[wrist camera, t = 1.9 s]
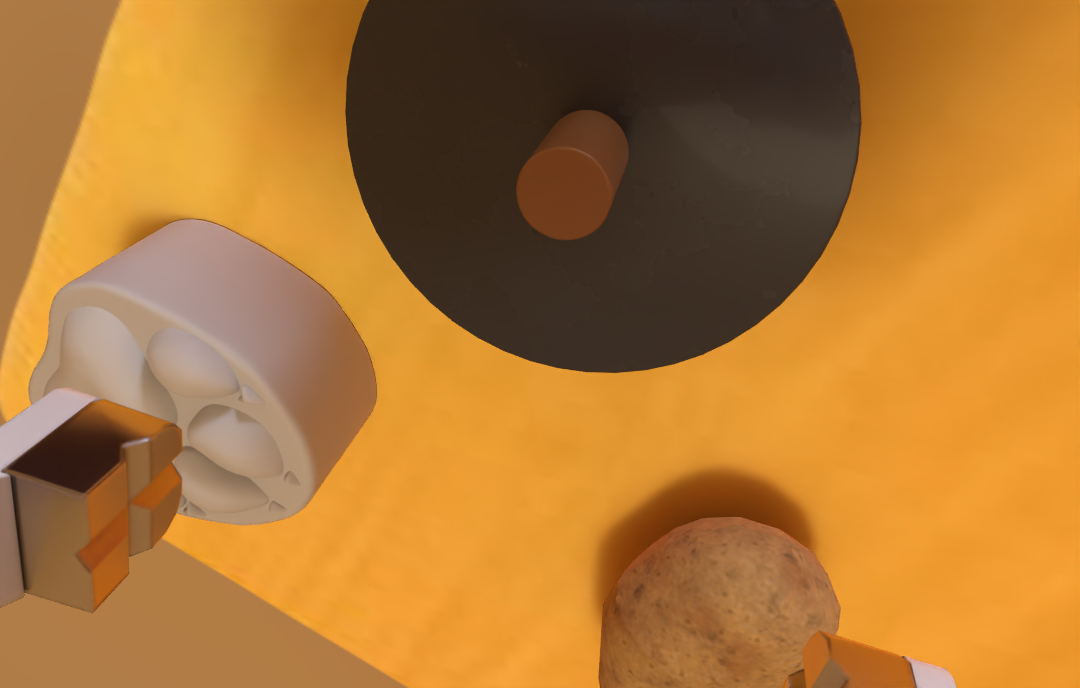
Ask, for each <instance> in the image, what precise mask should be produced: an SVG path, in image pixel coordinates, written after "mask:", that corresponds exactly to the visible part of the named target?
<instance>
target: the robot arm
mask: <svg viewBox="0 0 1080 688" xmlns="http://www.w3.org/2000/svg"><path fill="white" fill-rule="evenodd" d="M182 451H183V444H182V429H181V428H179V427H178V426H177V425H176V424H175V423H172V422H169V421H166V420H163V419H160V418H157V417H155V416H152V415H149V414H146V413H143V412H140V411H137V410H134V409H132V408H129V407H126V406H123V405H120V404H117V403H114V402H111V401H109V400H106V399H100V398H97V397H94V396H91V395H89V394H86V393H83V392H80V391H77V390H75V389H72V388H69V387H65V388H59V389H54V390H52V391H51V392H49V393H48V394H47V395H45V396H44V397H42V398H41V399H39V400H38V401H36V402H35V403H34V404H32V405H31V406H29V407H28V408H26V409H25V410H24V411H22V412H21V413H19V414H18V415H16V416H15V417H13V418H12V419H11V420H9V421H8V422H6V423H5V424H3V425H2V426H1V427H0V608H2V607H4V606H6V605H8V604H10V603H12V602H14V601H16V600H19V599H21V598H23V597H24V595H25V594H24V593H28V594H31V595H34V596H38V597H41V598H44V599H48V600H51V601H54V602H57V603H61V604H64V605H67V606H70V607H73V608H77V609H80V610H83V611H87V612H90V613H93V612H94V611H95V610H96V609H97V608H98V607H99V606H100V605H101V604H102V602H104V600H105V599H106V598H107V597H108V596H109V595H110V594H111V593H112V592H113V591H114V589H115V588H116V587H117V586H118V585H119V584H120V583H121V582H122V581H123V580H124V578H126V576H127V575H128V574H129V557H130V556H133V555H136V554H138V553H141V552H143V551H146V550H149V549H152V548H153V547H154V545H155V544H156V543H157V542H158V541H159V540H160V539H161V537H162V536H163V535H164V534H165V533H166V531H167V530H168V528H169V526H170V524H171V522H172V520H173V518H174V516H175V514H176V513H177V511H178V507H179V503H180V499H181V495H182V477H181V475H180V474H179V472H178V471H177V469H176V467H175V466H174V464H173V463H172V461H173V460H174V459H175V458H176V457H177V456H178V455H179V454H180V453H181V452H182ZM802 652H803V662H804V669H802V670H800V671H797V672H795V673H793V674H790V675H788V677H787V679H786V680H785V682H784V684H783V686H782V688H956V685H955V682H954V679H953V677H952V676H951V674H950V673H949V672H948V671H947V670H946V669H945V668H941V667H938V666H935V665H931V664H928V663H925V662H922V661H918V660H915V659H912V658H908V657H905V656H902V657H901V656H899V655H897V654H894V653H890V652H887V651H884V650H881V649H878V648H874V647H871V646H868V645H865V644H862V643H858V642H855V641H852V640H849V639H846V638H842V637H839V636H836V635H833V634H830V633H826V632H823V631H820V630H819V631H818V632H816V633H815V634H814V635H813V636H811V638H810V639H809V641H808V642H807V644H806V646H805V647H804V649H803V651H802Z"/></svg>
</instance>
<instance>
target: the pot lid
mask: <svg viewBox="0 0 1080 688" xmlns="http://www.w3.org/2000/svg"><path fill="white" fill-rule="evenodd" d="M345 112H346V125H347V138H348V147H349V152H350V157H351V162H352V167H353V172H354V176H355V179H356V182H357V185H358V188H359V191H360V194H361V198H362V201H363V204H364V206H365V208H366V210H367V213H368V215H369V217H370V219H371V221H372V224H373V226H374V228H375V230H376V232H377V234H378V236H379V237H380V239H381V241H382V242H383V244H384V245H385V247H386V249H387V250H388V252H389V254H390V255H391V257H392V259H393V260H394V261H395V262H396V264H397V265H398V266H399V268H400V269H401V270H402V272H403V273H404V274H405V275H406V277H407V278H408V279H409V281H410V282H411V283H412V284H413V285H414V286H415V287H416V288H417V289H418V290H419V291H420V292H421V293H422V294H423V295H424V296H425V297H426V298H427V299H428V301H429V302H430V303H432V304H433V305H434V306H435V307H436V308H438V309H439V310H440V311H441V312H442V313H444V314H445V315H446V316H447V317H448V318H450V319H451V320H452V321H453V322H455V323H456V324H458V325H459V326H461V327H462V328H464V329H465V330H467V331H468V332H470V333H471V334H473V335H474V336H476V337H477V338H479V339H481V340H483V341H485V342H487V343H489V344H491V345H493V346H495V347H497V348H499V349H501V350H503V351H505V352H508V353H511V354H513V355H516V356H519V357H521V358H524V359H527V360H529V361H533V362H537V363H540V364H544V365H548V366H552V367H556V368H561V369H569V370H576V371H583V372H605V373H619V372H630V371H641V370H648V369H653V368H658V367H663V366H667V365H672V364H676V363H679V362H682V361H685V360H688V359H691V358H694V357H697V356H700V355H703V354H705V353H707V352H709V351H711V350H713V349H715V348H717V347H719V346H722V345H724V344H726V343H728V342H730V341H732V340H733V339H735V338H736V337H738V336H739V335H741V334H743V333H744V332H746V331H747V330H749V329H750V328H752V327H754V326H755V325H757V324H758V323H759V322H760V321H761V320H763V319H764V318H765V317H766V316H768V315H769V314H770V313H771V312H772V311H774V310H775V309H776V308H777V307H778V306H780V305H781V304H782V303H783V302H784V301H785V299H786V298H787V297H788V296H789V295H790V294H791V293H792V292H793V291H794V290H795V289H796V288H797V287H798V286H799V285H800V284H801V283H802V281H803V280H804V279H805V277H806V276H807V275H808V273H809V272H810V270H811V269H812V268H813V266H814V265H815V264H816V262H817V261H818V259H819V258H820V257H821V255H822V254H823V252H824V250H825V248H826V246H827V244H828V242H829V241H830V239H831V237H832V235H833V233H834V231H835V230H836V228H837V226H838V224H839V221H840V218H841V216H842V213H843V210H844V208H845V205H846V203H847V200H848V197H849V195H850V191H851V187H852V183H853V179H854V174H855V170H856V166H857V162H858V155H859V144H860V134H861V101H860V84H859V79H858V74H857V68H856V63H855V58H854V52H853V48H852V45H851V42H850V39H849V36H848V33H847V30H846V28H845V25H844V22H843V19H842V16H841V13H840V11H839V9H838V7H837V5H836V3H835V1H834V0H369V1H368V3H367V6H366V8H365V10H364V12H363V15H362V18H361V21H360V24H359V27H358V31H357V34H356V37H355V40H354V43H353V47H352V53H351V59H350V64H349V70H348V76H347V90H346V111H345Z"/></svg>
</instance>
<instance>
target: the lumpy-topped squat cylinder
mask: <svg viewBox="0 0 1080 688" xmlns="http://www.w3.org/2000/svg"><path fill="white" fill-rule="evenodd" d="M65 387H69V388H72V389H75V390H77V391H80V392H83V393H86V394H89V395H91V396H94V397H97V398H100V399H106V400H109V401H111V402H114V403H117V404H120V405H123V406H126V407H129V408H132V409H134V410H137V411H140V412H143V413H146V414H149V415H152V416H155V417H157V418H160V419H163V420H166V421H169V422H172V423H175V424H176V425H177V426H178V427H179V428H181V429H182V444H183V451H182V452H181V453H180V454H179V455H178V456H177V457H176V458H175V459H174V460H173V461H172V463H173V464H174V466H175V467H176V469H177V471H178V472H179V474H180V475H181V477H182V495H181V499H180V503H179V507H178V511H177V513H178V514H181V515H184V516H188V517H193V518H198V519H203V520H208V521H214V522H220V523H227V524H235V525H257V524H265V523H270V522H274V521H279V520H282V519H286V518H288V517H291V516H293V515H295V514H296V513H298V512H300V511H301V510H302V509H303V508H304V507H305V506H306V505H307V504H308V503H309V502H310V500H311V499H312V498H313V496H314V494H315V493H316V491H317V490H318V489H319V487H320V486H321V484H322V483H323V482H324V480H325V479H326V477H327V476H328V474H329V473H330V472H331V470H332V469H333V467H334V466H335V464H336V463H337V462H338V460H339V459H340V458H341V456H342V455H343V453H344V452H345V450H346V449H347V447H348V446H349V445H350V443H351V442H352V440H353V439H354V437H355V436H356V434H357V433H358V432H359V430H360V429H361V427H362V426H363V424H364V423H365V421H366V420H367V419H368V417H369V416H370V414H371V412H372V411H373V408H374V406H375V402H376V394H377V390H376V380H375V375H374V370H373V366H372V363H371V359H370V356H369V354H368V351H367V349H366V347H365V345H364V343H363V341H362V340H361V338H360V336H359V335H358V333H357V331H356V330H355V328H354V326H353V325H352V323H351V322H350V320H349V319H348V317H347V316H346V314H345V313H344V312H343V310H342V309H341V307H340V306H339V305H338V303H337V302H336V301H335V299H334V298H333V297H332V296H331V295H330V294H329V293H328V292H327V291H326V290H325V289H324V288H323V287H321V286H320V285H319V284H318V283H316V282H315V281H314V280H312V279H311V278H310V277H308V276H307V275H305V274H304V273H303V272H301V271H300V270H298V269H297V268H295V267H294V266H292V265H291V264H289V263H288V262H286V261H285V260H283V259H282V258H280V257H278V256H277V255H275V254H273V253H272V252H270V251H269V250H267V249H265V248H263V247H262V246H260V245H258V244H256V243H254V242H252V241H250V240H248V239H246V238H244V237H242V236H240V235H239V234H237V233H235V232H233V231H231V230H229V229H227V228H225V227H222V226H220V225H217V224H214V223H211V222H208V221H203V220H197V219H184V220H178V221H174V222H172V223H169V224H168V225H166V226H164V227H163V228H161V229H159V230H157V231H156V232H154V233H152V234H151V235H149V236H147V237H146V238H144V239H142V240H140V241H139V242H137V243H135V244H134V245H132V246H130V247H129V248H127V249H125V250H123V251H122V252H120V253H118V254H117V255H115V256H113V257H111V258H110V259H108V260H106V261H105V262H103V263H101V264H100V265H98V266H96V267H95V268H93V269H92V270H90V271H89V272H87V273H85V274H84V275H82V276H81V277H79V278H77V279H75V280H73V281H71V282H70V283H68V284H67V285H65V286H64V287H63V288H61V289H60V290H59V292H58V293H57V294H56V296H55V297H54V299H53V302H52V305H51V309H50V314H49V329H48V340H47V345H46V348H45V351H44V354H43V356H42V358H41V359H40V361H39V362H38V364H37V366H36V367H35V369H34V371H33V373H32V375H31V378H30V382H29V398H30V401H31V404H34V403H35V402H36V401H38V400H39V399H41V398H42V397H44V396H45V395H47V394H48V393H49V392H51V391H52V390H54V389H59V388H65Z"/></svg>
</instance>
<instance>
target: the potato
mask: <svg viewBox="0 0 1080 688" xmlns="http://www.w3.org/2000/svg"><path fill="white" fill-rule="evenodd" d="M840 609H841V608H840V605H839V603H838V600H837V597H836V595H835V592H834V590H833V587H832V585H831V582H830V580H829V577H828V575H827V573H826V571H825V570H824V568H823V567H822V565H821V564H820V562H819V561H818V559H817V558H816V556H815V555H814V553H813V552H812V551H810V550H809V549H807V548H806V547H805V546H803V545H802V544H800V543H799V542H798V541H796V540H795V539H793V538H792V537H790V536H789V535H788V534H786V533H785V532H783V531H782V530H780V529H778V528H775V527H771V526H768V525H765V524H761V523H758V522H755V521H752V520H748V519H745V518H742V517H715V518H702V519H699V520H696V521H693V522H690V523H687V524H685V525H682V526H679V527H676V528H674V529H673V530H671V531H670V532H668V533H667V534H665V535H664V536H663V537H661V538H660V539H658V540H657V541H655V542H654V543H653V544H651V545H650V546H649V547H648V548H647V549H645V550H644V551H643V552H642V553H641V554H640V555H639V556H637V557H636V558H635V559H634V560H633V561H632V562H631V563H630V564H629V566H628V567H627V568H626V570H625V571H624V572H623V574H622V575H621V577H620V578H619V579H618V581H617V583H616V584H615V586H614V587H613V589H612V591H611V592H610V594H609V596H608V597H607V599H606V601H605V602H604V604H603V616H602V630H601V647H600V663H599V684H600V688H782V686H783V684H784V682H785V680H786V679H787V677H788V675H790V674H793V673H795V672H797V671H800V670H802V669H804V662H803V652H802V651H803V649H804V647H805V646H806V644H807V642H808V641H809V639H810V638H811V636H813V635H814V634H815V633H816V632H818V631H819V630H820V631H823V632H826V633H830V634H833V635H836V632H837V630H838V627H839V618H840Z"/></svg>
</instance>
